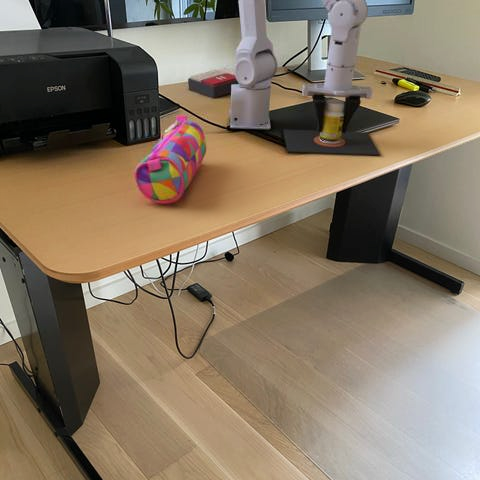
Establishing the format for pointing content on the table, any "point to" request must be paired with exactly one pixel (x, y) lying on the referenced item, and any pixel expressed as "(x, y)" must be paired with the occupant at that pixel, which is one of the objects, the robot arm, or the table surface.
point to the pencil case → (172, 162)
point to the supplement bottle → (332, 121)
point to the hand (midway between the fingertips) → (331, 131)
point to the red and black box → (213, 82)
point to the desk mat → (312, 145)
